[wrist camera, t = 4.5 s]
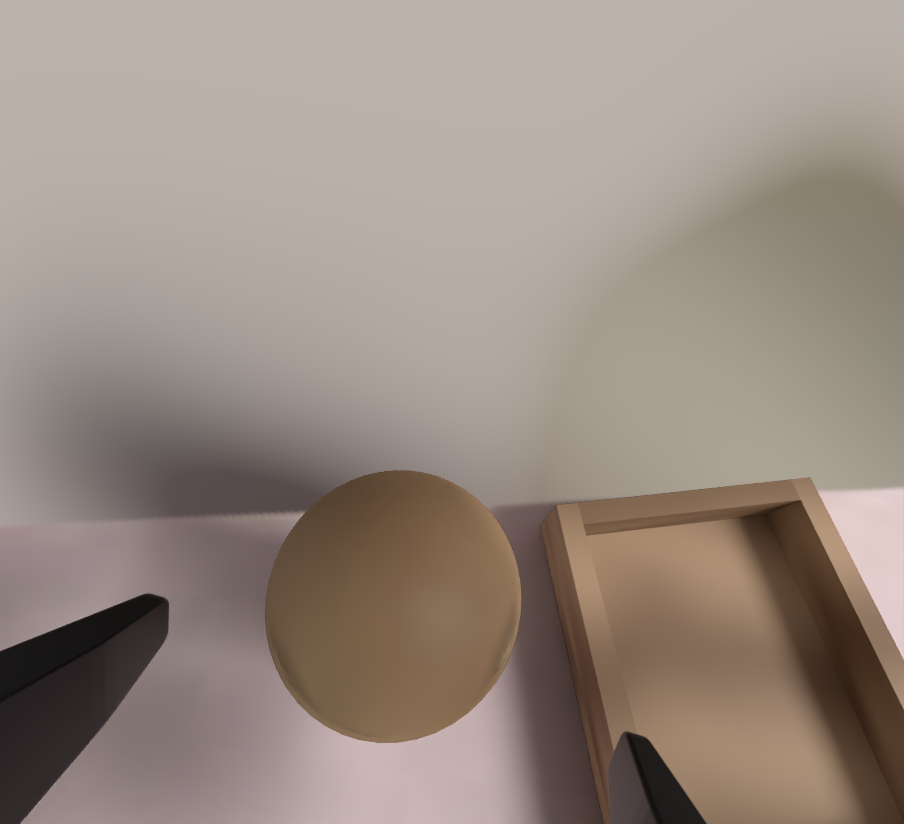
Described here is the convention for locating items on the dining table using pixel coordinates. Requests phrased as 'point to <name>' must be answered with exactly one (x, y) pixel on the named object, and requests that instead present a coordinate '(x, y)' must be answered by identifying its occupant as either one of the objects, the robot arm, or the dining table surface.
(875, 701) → the walnut tray
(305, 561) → the beech dowel
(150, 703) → the dining table surface
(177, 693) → the dining table surface
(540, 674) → the dining table surface
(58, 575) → the dining table surface
